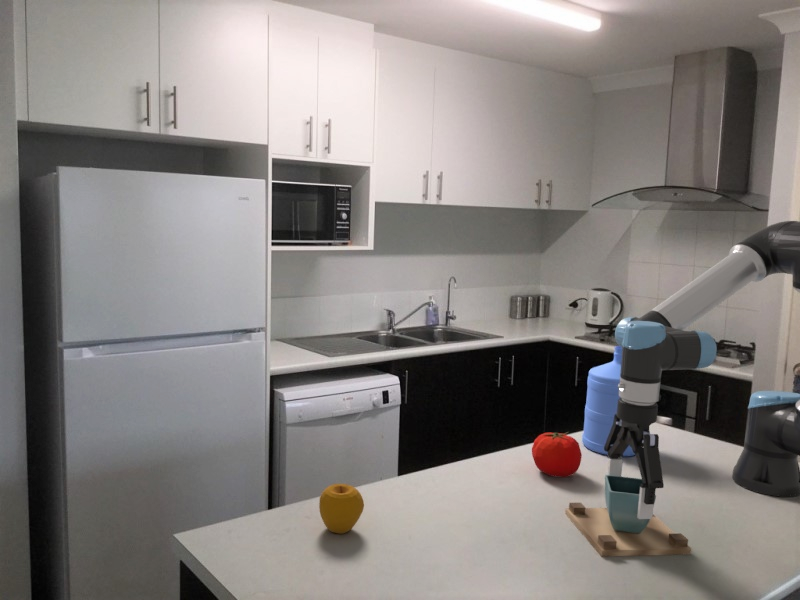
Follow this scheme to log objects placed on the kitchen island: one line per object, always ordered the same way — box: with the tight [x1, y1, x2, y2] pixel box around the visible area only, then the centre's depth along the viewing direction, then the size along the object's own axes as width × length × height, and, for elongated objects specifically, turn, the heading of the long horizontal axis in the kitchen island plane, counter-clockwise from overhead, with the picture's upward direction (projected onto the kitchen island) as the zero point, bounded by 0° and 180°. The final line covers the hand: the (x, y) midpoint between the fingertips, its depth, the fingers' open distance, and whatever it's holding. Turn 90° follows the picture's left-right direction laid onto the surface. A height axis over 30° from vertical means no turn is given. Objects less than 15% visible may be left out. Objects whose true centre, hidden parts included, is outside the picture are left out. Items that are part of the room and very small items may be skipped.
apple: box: [318, 483, 365, 535], centre depth 135 cm, size 8×8×9 cm
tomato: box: [531, 431, 583, 478], centre depth 170 cm, size 12×12×10 cm
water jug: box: [581, 345, 636, 458], centre depth 190 cm, size 16×16×28 cm
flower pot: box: [604, 474, 657, 533], centre depth 140 cm, size 9×9×9 cm
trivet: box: [565, 502, 692, 558], centre depth 141 cm, size 18×18×3 cm
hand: (628, 503), depth 140 cm, fingers open, 13 cm apart
